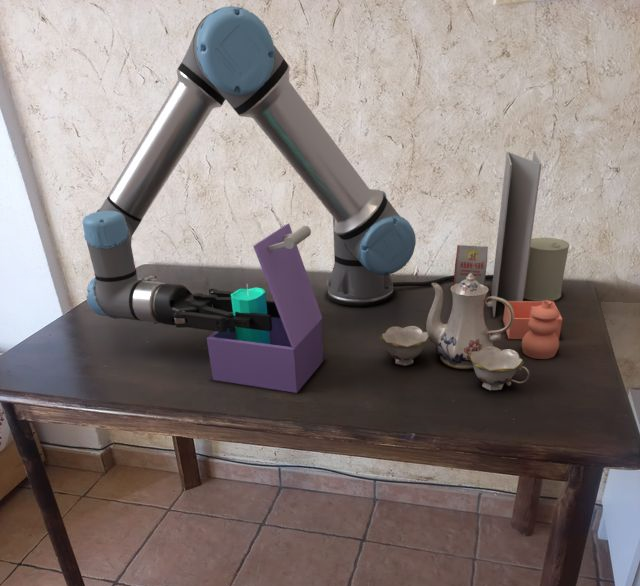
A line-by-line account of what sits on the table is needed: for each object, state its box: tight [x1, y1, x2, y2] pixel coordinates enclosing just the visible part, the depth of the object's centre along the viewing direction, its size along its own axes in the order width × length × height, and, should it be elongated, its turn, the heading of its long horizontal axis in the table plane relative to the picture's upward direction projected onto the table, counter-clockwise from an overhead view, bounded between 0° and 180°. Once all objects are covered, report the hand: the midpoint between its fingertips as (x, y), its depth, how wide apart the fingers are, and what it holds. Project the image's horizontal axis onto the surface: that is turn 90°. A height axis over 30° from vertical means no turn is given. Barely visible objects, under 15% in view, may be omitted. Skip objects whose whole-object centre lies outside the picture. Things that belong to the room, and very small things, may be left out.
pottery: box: [502, 300, 563, 360], centre depth 117 cm, size 18×10×10 cm, turn 173°
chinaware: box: [379, 273, 530, 391], centre depth 108 cm, size 28×17×17 cm, turn 58°
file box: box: [206, 317, 324, 394], centre depth 112 cm, size 17×13×8 cm
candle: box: [231, 283, 270, 344], centre depth 109 cm, size 6×6×12 cm
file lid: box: [253, 223, 323, 348], centre depth 102 cm, size 17×13×5 cm
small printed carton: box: [452, 244, 489, 286], centre depth 142 cm, size 4×7×10 cm, turn 71°
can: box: [523, 237, 570, 302], centre depth 136 cm, size 9×9×12 cm
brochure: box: [490, 150, 543, 318], centre depth 127 cm, size 14×6×30 cm, turn 168°
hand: (277, 316), depth 107 cm, fingers closed on candle, 5 cm apart
